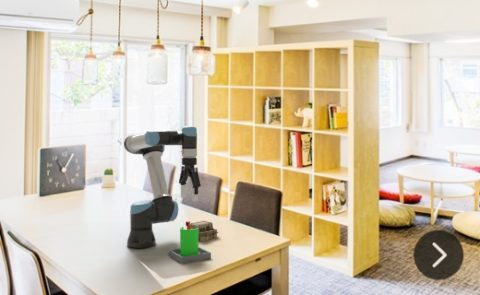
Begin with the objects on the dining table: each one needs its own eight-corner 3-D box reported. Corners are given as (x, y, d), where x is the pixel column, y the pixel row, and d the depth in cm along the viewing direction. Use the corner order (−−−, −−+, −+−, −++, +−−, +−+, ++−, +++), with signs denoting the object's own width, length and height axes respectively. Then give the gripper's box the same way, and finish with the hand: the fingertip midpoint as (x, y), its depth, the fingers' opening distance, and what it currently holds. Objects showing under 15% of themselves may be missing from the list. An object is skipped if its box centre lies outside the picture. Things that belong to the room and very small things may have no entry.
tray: (168, 255, 210) (168, 250, 210) (196, 251, 218) (196, 245, 218) (181, 263, 196) (181, 257, 196) (210, 258, 205) (210, 252, 205)
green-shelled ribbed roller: (198, 253, 210) (198, 219, 210) (197, 258, 202) (197, 222, 202) (181, 253, 210) (181, 219, 210) (179, 258, 202) (179, 222, 202)
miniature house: (184, 243, 235) (184, 223, 235) (202, 239, 245) (202, 220, 245) (201, 248, 225) (201, 227, 225) (219, 243, 235) (219, 223, 235)
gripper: (172, 156, 215) (172, 196, 215) (193, 158, 194) (193, 203, 194) (185, 156, 219) (185, 195, 219) (207, 158, 198) (207, 201, 198)
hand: (189, 199), depth 207 cm, fingers open, 13 cm apart
